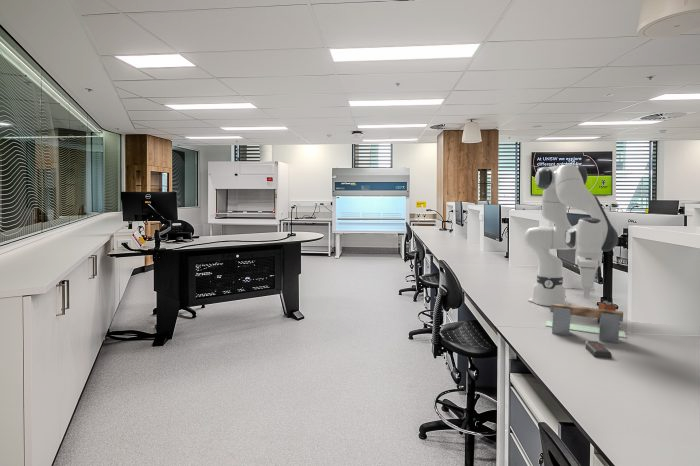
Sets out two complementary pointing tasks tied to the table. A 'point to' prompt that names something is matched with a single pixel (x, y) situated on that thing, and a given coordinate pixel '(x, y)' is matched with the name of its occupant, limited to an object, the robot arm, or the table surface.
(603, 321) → the stand
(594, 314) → the rail
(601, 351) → the usb drive
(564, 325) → the stand
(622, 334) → the mat
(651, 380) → the table surface
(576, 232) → the robot arm
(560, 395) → the table surface
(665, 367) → the table surface
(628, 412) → the table surface
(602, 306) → the battery
